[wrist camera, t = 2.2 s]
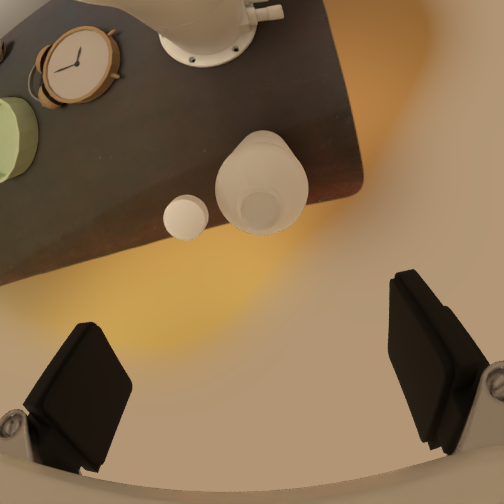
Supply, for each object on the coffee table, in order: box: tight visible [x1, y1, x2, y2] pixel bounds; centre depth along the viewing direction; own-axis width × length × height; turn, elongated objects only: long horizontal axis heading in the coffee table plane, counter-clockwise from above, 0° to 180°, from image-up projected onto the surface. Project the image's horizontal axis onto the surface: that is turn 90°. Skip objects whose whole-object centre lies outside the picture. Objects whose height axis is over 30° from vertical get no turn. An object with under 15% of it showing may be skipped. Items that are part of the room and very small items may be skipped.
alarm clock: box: [28, 26, 120, 109], centre depth 33 cm, size 11×5×15 cm
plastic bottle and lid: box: [163, 130, 308, 240], centre depth 29 cm, size 9×6×25 cm
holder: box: [0, 97, 38, 183], centre depth 36 cm, size 14×14×5 cm
